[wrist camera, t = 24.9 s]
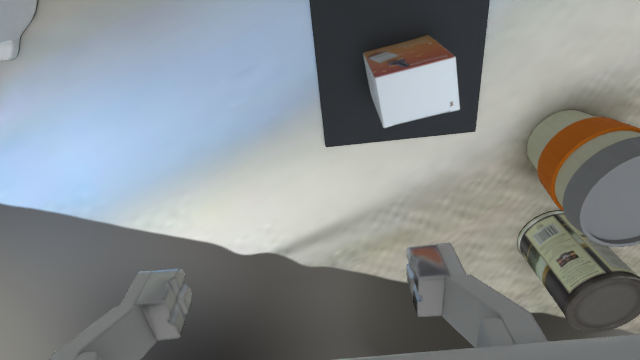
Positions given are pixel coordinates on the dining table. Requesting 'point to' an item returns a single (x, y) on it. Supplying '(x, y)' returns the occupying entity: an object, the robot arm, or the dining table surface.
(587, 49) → the dining table surface
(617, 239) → the reusable coffee cup
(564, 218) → the coffee can
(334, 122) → the mat
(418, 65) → the small box
